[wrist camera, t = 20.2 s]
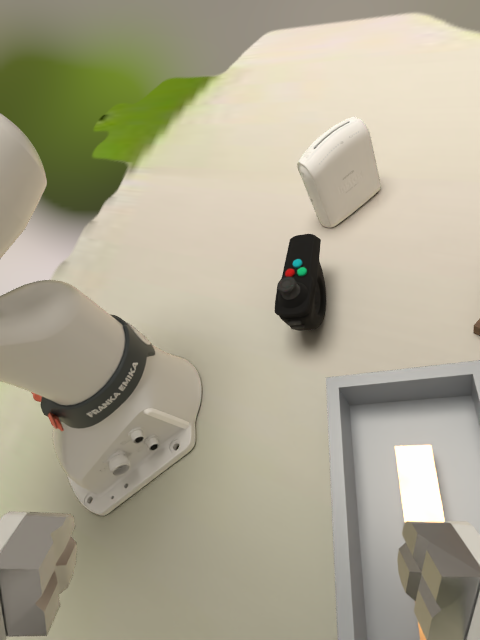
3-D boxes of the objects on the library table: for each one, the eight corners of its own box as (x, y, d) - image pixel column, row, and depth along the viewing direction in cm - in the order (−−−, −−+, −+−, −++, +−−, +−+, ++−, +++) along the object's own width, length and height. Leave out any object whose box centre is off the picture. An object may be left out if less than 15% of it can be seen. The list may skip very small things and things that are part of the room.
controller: (293, 348, 51) (263, 306, 43) (304, 270, 57) (280, 221, 49) (326, 347, 49) (301, 303, 41) (335, 267, 55) (314, 215, 47)
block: (495, 804, 26) (499, 825, 23) (444, 791, 27) (442, 809, 25) (432, 453, 37) (431, 444, 35) (398, 455, 39) (394, 446, 36)
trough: (641, 980, 21) (688, 1083, 17) (370, 881, 27) (351, 939, 22) (482, 386, 40) (485, 359, 35) (339, 399, 45) (325, 377, 40)
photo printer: (330, 233, 58) (305, 165, 49) (313, 220, 61) (286, 154, 52) (386, 189, 58) (372, 112, 49) (366, 178, 61) (349, 103, 52)
